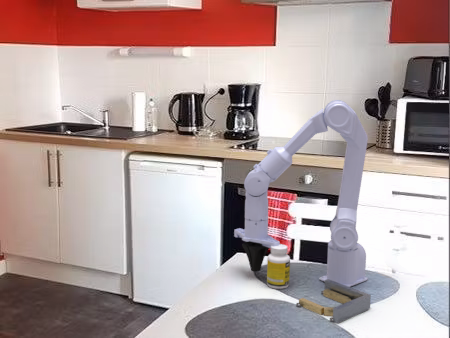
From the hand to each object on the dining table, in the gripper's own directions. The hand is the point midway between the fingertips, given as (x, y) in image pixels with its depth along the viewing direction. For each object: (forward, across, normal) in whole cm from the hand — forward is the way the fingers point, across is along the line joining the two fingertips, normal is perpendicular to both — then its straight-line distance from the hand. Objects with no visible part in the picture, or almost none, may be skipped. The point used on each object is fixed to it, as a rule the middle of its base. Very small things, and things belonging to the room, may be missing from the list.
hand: (255, 270), depth 144 cm
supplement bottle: (+2, +8, 0) cm, 8 cm away
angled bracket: (+1, +24, 0) cm, 24 cm away
